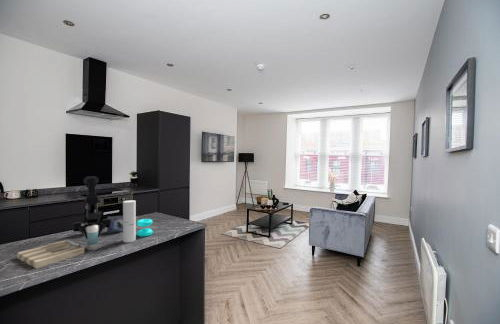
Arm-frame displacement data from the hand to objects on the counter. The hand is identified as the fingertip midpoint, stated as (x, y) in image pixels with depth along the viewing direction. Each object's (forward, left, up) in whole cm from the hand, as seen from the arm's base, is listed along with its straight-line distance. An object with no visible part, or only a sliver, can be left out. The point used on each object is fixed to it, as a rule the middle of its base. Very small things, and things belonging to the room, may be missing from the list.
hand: (92, 237), depth 138 cm
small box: (-19, +26, -7) cm, 33 cm away
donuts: (+4, +32, -7) cm, 33 cm away
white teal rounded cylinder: (-1, +1, -7) cm, 7 cm away
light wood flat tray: (-9, -16, -7) cm, 19 cm away
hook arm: (-9, -6, -4) cm, 12 cm away
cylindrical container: (+5, +20, -7) cm, 21 cm away
